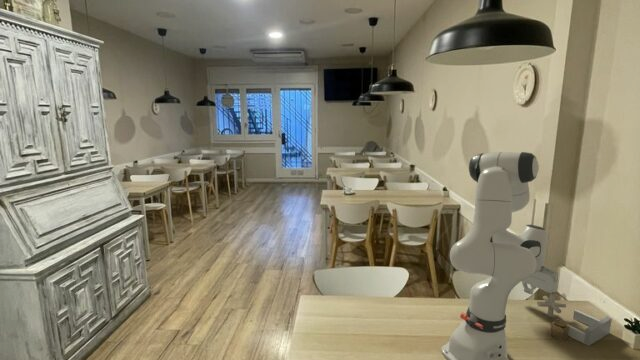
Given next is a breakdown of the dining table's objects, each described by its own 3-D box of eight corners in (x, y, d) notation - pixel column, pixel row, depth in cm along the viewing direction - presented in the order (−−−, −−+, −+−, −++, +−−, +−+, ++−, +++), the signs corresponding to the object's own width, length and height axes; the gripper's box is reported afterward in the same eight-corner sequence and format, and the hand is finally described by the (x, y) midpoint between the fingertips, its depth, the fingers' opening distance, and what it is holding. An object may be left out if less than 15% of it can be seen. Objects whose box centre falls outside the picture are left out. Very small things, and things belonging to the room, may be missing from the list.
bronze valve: (561, 341, 124) (563, 327, 123) (549, 335, 127) (551, 321, 126) (567, 338, 126) (569, 323, 125) (556, 332, 129) (557, 318, 128)
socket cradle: (588, 346, 121) (591, 330, 120) (554, 328, 131) (555, 314, 130) (609, 333, 128) (611, 318, 127) (575, 317, 138) (577, 303, 137)
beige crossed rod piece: (556, 309, 144) (559, 287, 142) (570, 323, 134) (574, 300, 132) (530, 308, 145) (533, 286, 143) (543, 322, 135) (546, 299, 133)
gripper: (562, 270, 136) (558, 302, 139) (513, 252, 154) (510, 281, 157) (553, 274, 133) (549, 306, 136) (504, 255, 151) (501, 284, 154)
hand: (528, 292), depth 146 cm, fingers closed
